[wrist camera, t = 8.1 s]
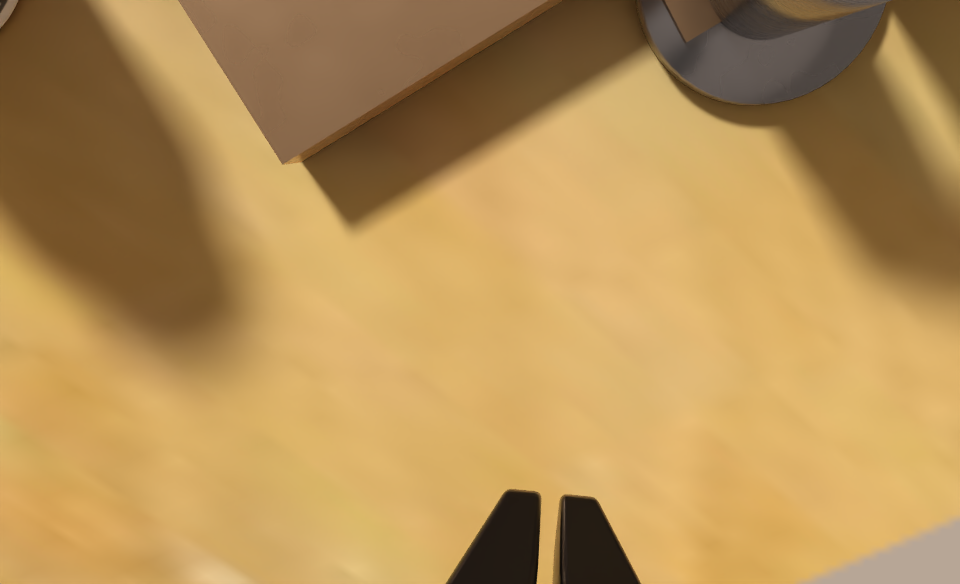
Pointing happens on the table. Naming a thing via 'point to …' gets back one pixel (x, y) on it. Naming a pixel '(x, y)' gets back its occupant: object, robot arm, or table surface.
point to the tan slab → (483, 21)
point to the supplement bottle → (6, 10)
